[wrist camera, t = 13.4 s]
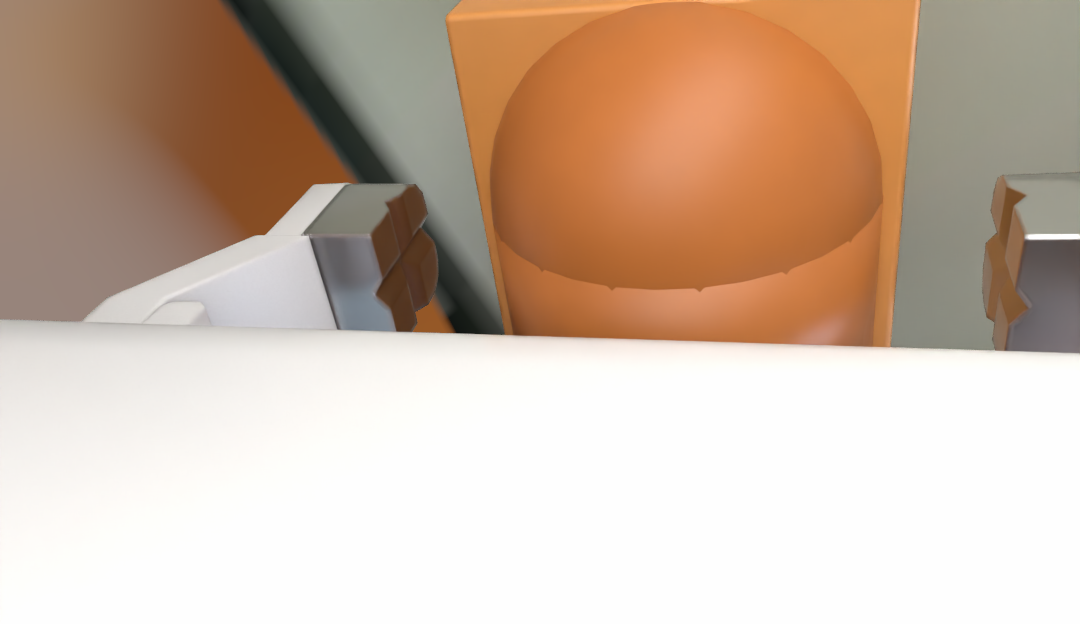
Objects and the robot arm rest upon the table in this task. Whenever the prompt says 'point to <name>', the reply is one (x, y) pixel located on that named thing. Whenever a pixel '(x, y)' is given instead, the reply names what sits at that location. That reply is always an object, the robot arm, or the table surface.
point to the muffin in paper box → (690, 164)
